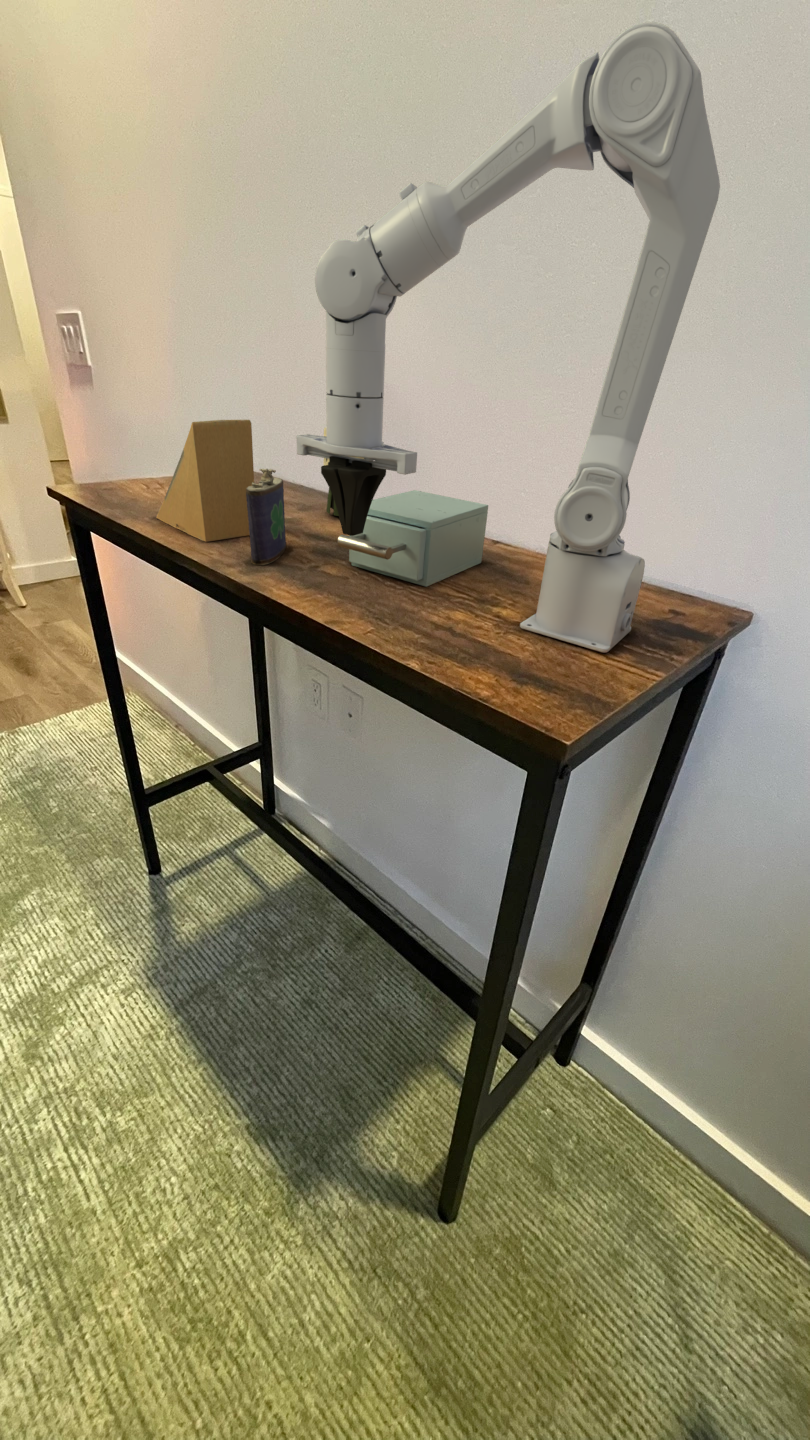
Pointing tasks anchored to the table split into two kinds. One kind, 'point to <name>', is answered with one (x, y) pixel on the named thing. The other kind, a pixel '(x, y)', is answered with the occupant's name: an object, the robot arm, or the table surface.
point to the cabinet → (437, 531)
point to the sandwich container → (212, 481)
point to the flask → (266, 518)
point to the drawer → (388, 547)
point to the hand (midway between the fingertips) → (352, 533)
